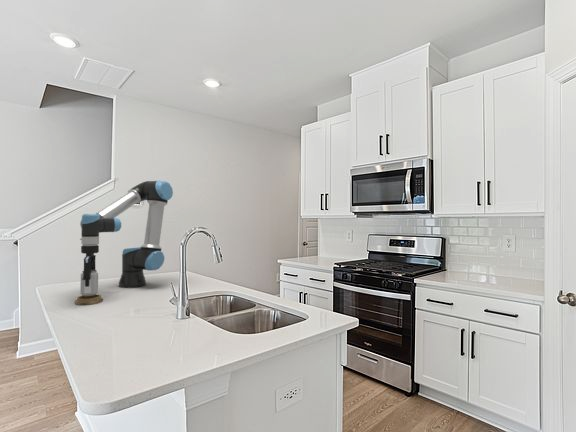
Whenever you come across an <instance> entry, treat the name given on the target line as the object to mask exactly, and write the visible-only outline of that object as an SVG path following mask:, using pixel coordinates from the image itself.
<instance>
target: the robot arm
mask: <svg viewBox="0 0 576 432" xmlns="http://www.w3.org/2000/svg"><path fill="white" fill-rule="evenodd" d="M173 193H174V192H173V187H172V186H171V184H170V183H169V182H168V181H165V180H147V181H143V182H141V183H138V184H137V185H135V186H133V187H132V188H130V189H129V190H128V191H127V193H125V194H124V195H123V196H120V198H118V199H116V200H115V201H113V202H112V203H110V204H109V205H107V206H105V207H104V208H102V209H101V210H99V211H98V212H96V213H83V214H81V215H82V216H81V220H80V223H79V225H80V228H81V234H80V235H81V238H79V240H80V242H81V243H80V244H81V246H80V252H81V254H85V257H84V258H83V271H84V273H83V272H82V273H83V278H82V280H84V293H91V278H90V277H91V270H96V255H95V254H97V253H98V254H99V252H100V249H99V247H100V246H99V244H100V233H118V232H119V231H120V230H121V228H122V221H121V219H119V218H118V216H120V214H123V212H125V211H126V210H128V209H130V208H132V206H134V205H135V204H140V203H142V202H143V201H147V204H148V212H147V219H146V224H145V225H146V227H145V233H144V241H143V242H144V243H143V244H142V245H141V246H140V247H139V246H138V247H130V248H129V247H127V248H124V249H123V250H122V254H121V261H122V262H121V269H122V270H121V274H120V277H119V278H120V279H119V281H118V287H120V288H124V289H125V288H128V289H131V288H139V287H143V286H144V287H145V286H146V284H147V280H146V277H145V274H144V270H145V271H157V270H159V269H160V268H162V266H163V264H164V263H165V255H164V252H163V251H162V247H161V246H160V242H161V234H162V226H163V219H164V210H165V207H166V206H167V205H168V201H169V200H171V199H172V197H173V195H174V194H173ZM86 276H88V277H86Z"/></svg>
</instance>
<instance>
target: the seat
mask: <svg viewBox="0 0 576 432" xmlns="http://www.w3.org/2000/svg"><path fill="white" fill-rule="evenodd" d="M103 301H104V298H103V297H102V295H101V294H98V293H97V294H96V295H93V296H82V295H79V296H77V297H76V299H75V301H74V304H75V305H76V306H89V305H90V306H91V305H97V304H100V303H103Z"/></svg>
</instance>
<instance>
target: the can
mask: <svg viewBox="0 0 576 432" xmlns="http://www.w3.org/2000/svg"><path fill="white" fill-rule="evenodd" d="M83 273H84V270H82V272H81V274H80V293H79V294H80V296H93V295H96V294H98V293H99V273H98V272H97V270H96V269H95V270H91V277H90V278H91V293H84V280H82V278H83ZM86 277H88V276H86Z"/></svg>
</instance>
